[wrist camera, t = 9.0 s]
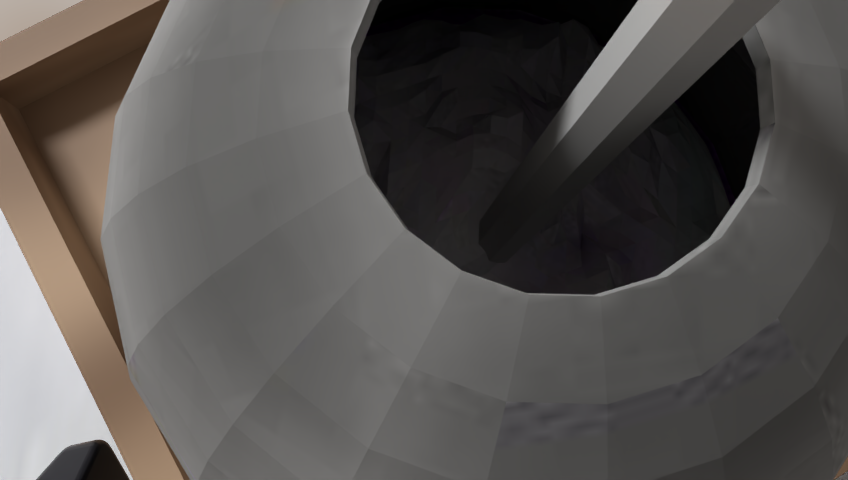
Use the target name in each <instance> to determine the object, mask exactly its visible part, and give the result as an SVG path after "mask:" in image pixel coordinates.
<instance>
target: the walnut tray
mask: <svg viewBox="0 0 848 480" xmlns="http://www.w3.org/2000/svg"><path fill="white" fill-rule="evenodd" d="M169 1H170V0H83V1H81V2H79V3H77V4H75V5H73V6H71V7H69V8H67V9H65V10H63V11H61V12H59V13H57V14H55V15H53V16H52V17H49V18H47V19H45V20H43V21H41V22H39V23H37V24H35V25H33V26H31V27H29V28H28V29H25V30H23V31H21V32H19V33H17V34H15V35H13V36H11V37H9V38H7V39H5V40H3V41H1V42H0V208H1V210H2V212H3V214H4V216H5V218H6V220H7V222H8V224H9V226H10V228H11V230H12V232H13V234H14V236H15V238H16V240H17V242H18V244H19V247H20V249H21V251H22V253H23V255H24V257H25V259H26V261H27V263H28V265H29V267H30V269H31V271H32V273H33V275H34V277H35V279H36V281H37V283H38V285H39V287H40V289H41V291H42V294H43V296H44V298H45V300H46V302H47V304H48V306H49V308H50V310H51V312H52V314H53V316H54V318H55V320H56V322H57V324H58V326H59V328H60V330H61V332H62V334H63V336H64V338H65V341H66V343H67V345H68V347H69V349H70V351H71V353H72V355H73V357H74V359H75V361H76V363H77V365H78V367H79V369H80V371H81V373H82V375H83V377H84V379H85V381H86V383H87V386H88V388H89V390H90V392H91V394H92V396H93V398H94V400H95V402H96V404H97V406H98V408H99V410H100V412H101V414H102V416H103V418H104V420H105V422H106V424H107V426H108V428H109V430H110V433H111V435H112V437H113V439H114V441H115V443H116V445H117V447H118V449H119V451H120V453H121V455H122V457H123V459H124V461H125V463H126V465H127V467H128V469H129V471H130V473H131V475H132V478H133V480H190V479H189V477H188V475H187V474H186V472H185V470H184V469H183V467H182V465H181V464H180V462H179V460H178V459H177V457H176V455H175V454H174V452H173V450H172V449H171V447H170V445H169V444H168V442H167V440H166V439H165V437H164V435H163V434H162V432H161V430H160V429H159V427H158V425H157V424H156V422H155V420H154V419H153V417H152V415H151V414H150V412H149V410H148V409H147V407H146V405H145V404H144V402H143V400H142V399H141V397H140V395H139V394H138V392H137V390H136V388H135V387H134V385H133V383H132V382H131V380H130V377H129V372H128V367H127V363H126V358H125V353H124V348H123V344H122V339H121V334H120V330H119V325H118V320H117V315H116V311H115V306H114V301H113V296H112V292H111V287H110V282H109V278H108V273H107V268H106V263H105V259H104V254H103V249H102V244H101V231H102V222H103V214H104V206H105V197H106V189H107V181H108V172H109V164H110V155H111V147H112V139H113V130H114V122H115V116H116V114H117V111H118V109H119V107H120V105H121V103H122V101H123V99H124V96H125V94H126V92H127V90H128V88H129V86H130V84H131V82H132V79H133V77H134V75H135V73H136V71H137V69H138V67H139V65H140V62H141V60H142V58H143V56H144V54H145V52H146V50H147V47H148V45H149V43H150V41H151V39H152V37H153V35H154V33H155V30H156V28H157V26H158V24H159V22H160V20H161V18H162V16H163V13H164V11H165V9H166V7H167V5H168V3H169ZM847 471H848V456H847V458H846V460H845V461H844V463H843V465H842V466H841V468H840V470H839V471H838V473H837V474H836V476H835V478H834V479H833V480H835V479H836V478H838V477H839V476H841V475H842V474H844V473H845V472H847Z"/></svg>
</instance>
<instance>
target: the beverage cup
mask: <svg viewBox="0 0 848 480" xmlns="http://www.w3.org/2000/svg"><path fill="white" fill-rule="evenodd" d="M101 244H102V249H103V254H104V259H105V263H106V268H107V273H108V278H109V282H110V287H111V292H112V296H113V301H114V306H115V311H116V315H117V320H118V325H119V330H120V334H121V339H122V344H123V348H124V353H125V358H126V363H127V367H128V372H129V377H130V380H131V382H132V383H133V385H134V387H135V388H136V390H137V392H138V394H139V395H140V397H141V399H142V400H143V402H144V404H145V405H146V407H147V409H148V410H149V412H150V414H151V415H152V417H153V419H154V420H155V422H156V424H157V425H158V427H159V429H160V430H161V432H162V434H163V435H164V437H165V439H166V440H167V442H168V444H169V445H170V447H171V449H172V450H173V452H174V454H175V455H176V457H177V459H178V460H179V462H180V464H181V465H182V467H183V469H184V470H185V472H186V474H187V475H188V477H189V479H190V480H833V479H834V478H835V476H836V474H837V473H838V471H839V470H840V468H841V466H842V465H843V463H844V461H845V460H846V458H847V456H848V0H170V1H169V3H168V5H167V7H166V9H165V11H164V13H163V16H162V18H161V20H160V22H159V24H158V26H157V28H156V30H155V33H154V35H153V37H152V39H151V41H150V43H149V45H148V47H147V50H146V52H145V54H144V56H143V58H142V60H141V62H140V65H139V67H138V69H137V71H136V73H135V75H134V77H133V79H132V82H131V84H130V86H129V88H128V90H127V92H126V94H125V96H124V99H123V101H122V103H121V105H120V107H119V109H118V111H117V114H116V116H115V122H114V130H113V139H112V147H111V155H110V164H109V172H108V181H107V189H106V197H105V206H104V214H103V222H102V231H101Z"/></svg>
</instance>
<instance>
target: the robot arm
mask: <svg viewBox="0 0 848 480" xmlns="http://www.w3.org/2000/svg"><path fill="white" fill-rule="evenodd" d="M36 480H130V479H129V478H128V476H127V474H126V473H125V471H124V469H123V467H122V466H121V464H120V462H119V460H118V459H117V457H116V455H115V454H114V452H113V450H112V448H111V447H110V446H109V444H108V443H107V442H105V441H103V440H94V441H89V442H85V443H80V444H75V445H71V446H69V447H67V448H65V449H64V450H63V451H62V452H61V453H60V454H59V455H58V456H57V457H56V458H55V459H54V460H53V461H52V463H51V464H50V465H49V466H48V467H47V468H46V469H45V470H44V472H43V473H42V474H41V475H40V476H39V477H38V478H37V479H36Z"/></svg>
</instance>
